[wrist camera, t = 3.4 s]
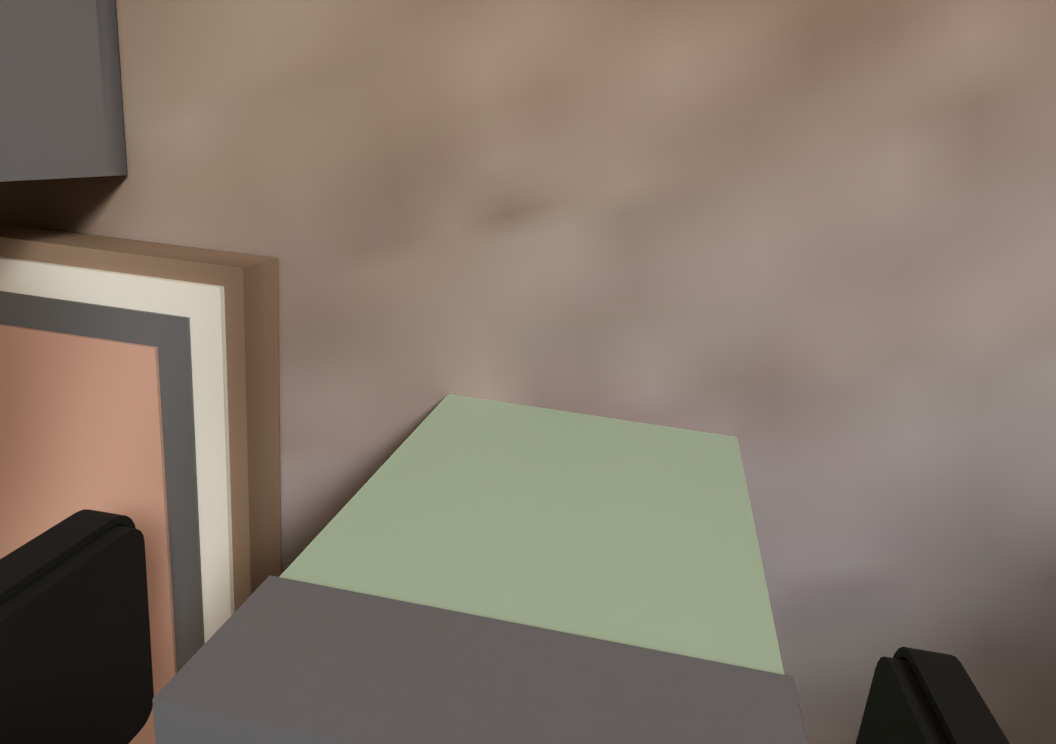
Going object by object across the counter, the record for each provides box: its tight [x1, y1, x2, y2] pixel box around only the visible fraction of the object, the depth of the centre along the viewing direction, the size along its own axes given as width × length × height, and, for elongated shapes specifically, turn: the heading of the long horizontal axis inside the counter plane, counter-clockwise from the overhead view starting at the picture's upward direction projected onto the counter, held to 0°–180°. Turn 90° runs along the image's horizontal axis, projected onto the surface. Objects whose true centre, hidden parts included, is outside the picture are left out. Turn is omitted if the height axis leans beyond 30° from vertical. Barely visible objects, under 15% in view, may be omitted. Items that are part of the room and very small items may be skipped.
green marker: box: [152, 394, 808, 744], centre depth 9 cm, size 4×4×7 cm
